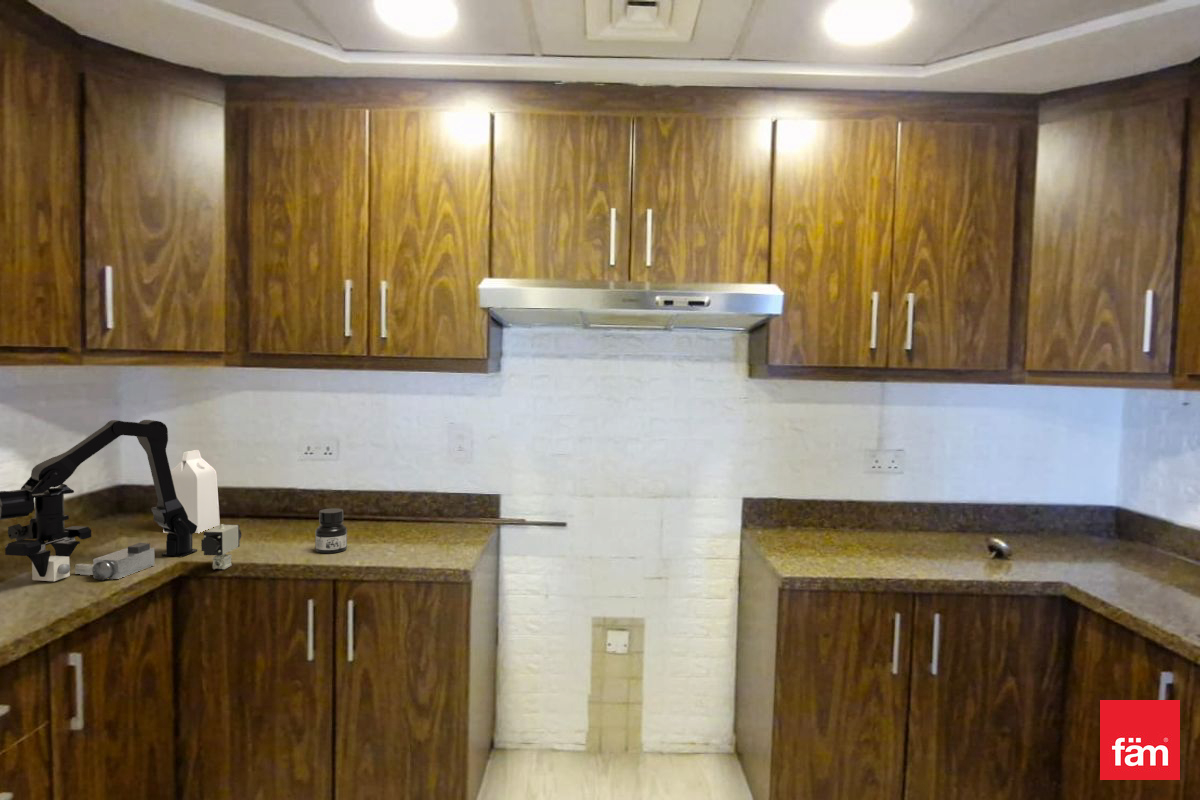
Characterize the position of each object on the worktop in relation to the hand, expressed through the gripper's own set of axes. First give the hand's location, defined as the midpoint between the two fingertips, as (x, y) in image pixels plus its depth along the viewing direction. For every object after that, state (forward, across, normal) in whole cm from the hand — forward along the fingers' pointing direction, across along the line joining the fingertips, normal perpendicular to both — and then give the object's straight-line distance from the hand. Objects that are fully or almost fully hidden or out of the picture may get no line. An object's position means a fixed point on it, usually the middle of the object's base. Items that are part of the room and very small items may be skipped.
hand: (51, 573), depth 172 cm
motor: (+2, -8, +9) cm, 12 cm away
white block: (+1, 0, 0) cm, 1 cm away
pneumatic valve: (+2, -17, +34) cm, 38 cm away
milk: (+2, -54, -3) cm, 54 cm away
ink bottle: (+2, -39, +54) cm, 67 cm away
